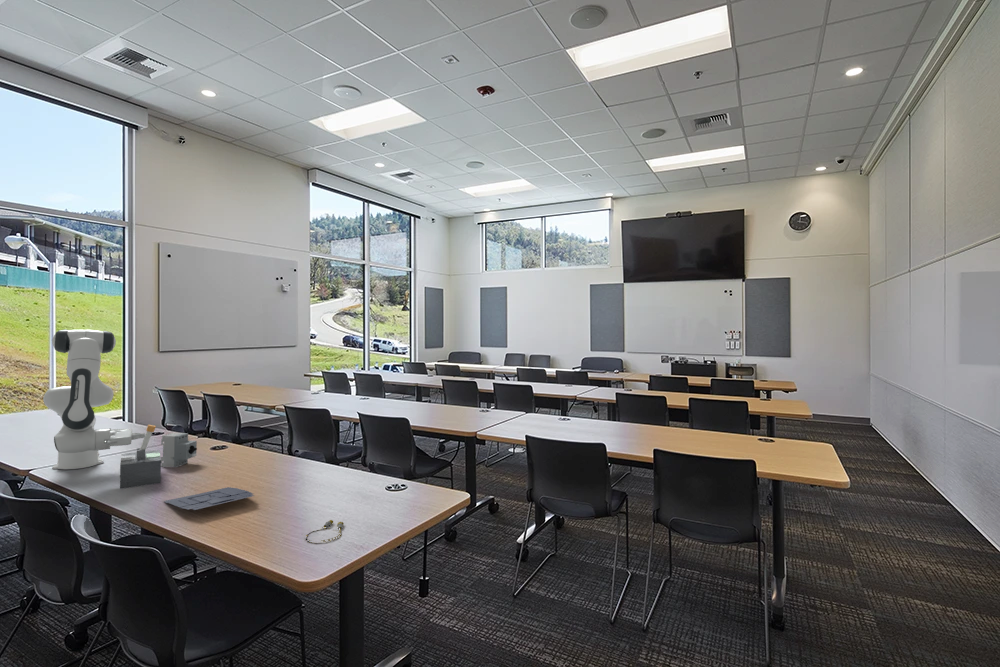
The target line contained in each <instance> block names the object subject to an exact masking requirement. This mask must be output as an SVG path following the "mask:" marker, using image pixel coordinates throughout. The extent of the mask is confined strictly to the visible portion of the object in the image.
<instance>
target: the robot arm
mask: <svg viewBox="0 0 1000 667" xmlns="http://www.w3.org/2000/svg"><path fill="white" fill-rule="evenodd" d="M116 342H117V341H116V337H115V335H114V333H113V332H111V331H107V330H96V329H61V330H58V331H56V332H55V334H54V335H53V336H52V339H51V343H52V348H54V350H55V351H56V352H58V353H63V354H66V353H67V361H66V375H67V377H68V378H69V380H70V385H65V386H64V385H63V386H57V387H53V388H48V390H46V391H45V393H44V395H43V399H42V400H43V404H44V405H45V406H46V408H48V409H49V410H52V411H53V412H54V413H56V414H57V415H58V416H59V417H60V419H61V421H62V424H63V425H62V427H61V428H60V430H58V432H57V433H56V434H55V435H54V437H53V443H54V446H55V450H56V451H57V463H55V464H54V465H53V466H52V469H54V470H58V469H59V470H77V469H78V470H79V469H83V468H84V469H85V468H89V467H93V466H96V465H100V464H104V460H103V459H102V458H101V456H100V453H99V451H104V450H110V449H111V447H119V446H120V447H121V446H129V445H132V443H133V442H132V440H135V441H136V440H139V439H144V437H145V435H146V433H145V432H133V429H132V428H117V429H116V428H115V429H112V428H98V429H95V426H96V423H97V422H96V421H97V419H96V415H95V411H94V409H93V408H95V407H96V408H97V407H102V406H105V405H109V404H110V403H111V402H112V400H113V398H114V390H113V388H112V387H111V386H109V385H107V384H106V383H104V382H103V381H102V380H101V378H100V377H99V374H100V370H101V365H102V364H101V362H102V361H101V356H102V354H108V353H111V352H112V351H113V350H114V348H115V346H116Z"/></svg>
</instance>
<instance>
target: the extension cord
mask: <svg viewBox="0 0 1000 667" xmlns="http://www.w3.org/2000/svg"><path fill="white" fill-rule="evenodd" d="M332 523H333V524H334V521H333V520H332V519H330V520H328V521H326V522H325V524H324V525H323V527H327V528H329V527H330V526H329V525H331V524H332ZM333 524H332V525H333ZM332 525H331V526H332ZM343 525H345V522H344V521H339V522H337V524H336V526H337V527H338V528H337V527H336V528H337V529H338V530H339V528H340V530H339V532H340V533H341V534H342V529H343V528H342V527H343ZM328 526H329V527H328ZM341 528H342V529H341ZM339 535H340V534H338V535H337V536H336V537H337V538H338V536H339ZM336 537H332V538H328V539H327V540H328V541H330V539H332V540H333V538H335V539H336ZM308 540H309V539H308ZM325 540H326V539H324V540H322V541H323V542H326V541H325ZM309 541H311V540H309Z"/></svg>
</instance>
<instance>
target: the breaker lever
mask: <svg viewBox="0 0 1000 667" xmlns="http://www.w3.org/2000/svg"><path fill="white" fill-rule="evenodd" d="M145 429H146V433H145V437H144V438H143V440H142V442H141V445H140V447H139V448H140V450H143V449H145V451H146V450H147V447H148V445H149V442H150V439H151V437H152V434H153V433H154V432H155V430H156V429H157V428H156V425H154V424H147V426H146V428H145Z"/></svg>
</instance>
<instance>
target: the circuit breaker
mask: <svg viewBox="0 0 1000 667" xmlns="http://www.w3.org/2000/svg"><path fill="white" fill-rule="evenodd" d="M161 438H162V439H161V440H160V444H161V445H162V456H160V458H161V468H163V467H164V468H178V467H181V466H183V465H186V464H188V460H189V459H192V458H195V457H196V456H197V450H198V447H197V440H189V433H188V432H187V433H186V432H172V433H171V432H170V433H168V434H165V435H161Z"/></svg>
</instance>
